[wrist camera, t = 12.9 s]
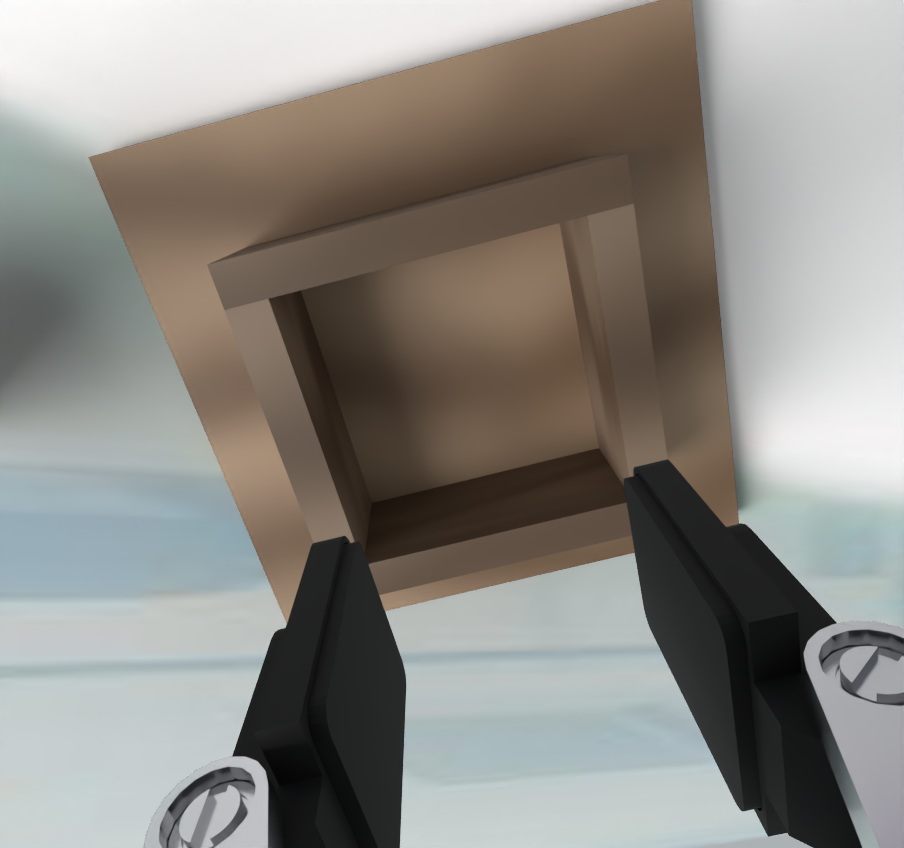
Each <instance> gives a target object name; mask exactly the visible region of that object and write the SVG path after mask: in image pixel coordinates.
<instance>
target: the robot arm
mask: <svg viewBox="0 0 904 848" xmlns="http://www.w3.org/2000/svg"><path fill="white" fill-rule="evenodd" d="M624 490H625V496H626V502H627V508H628V514H629V520H630V526H631V532H632V538H633V544H634V550H635V556H636V562H637V569H638V575H639V581H640V587H641V593H642V599H643V605H644V610H645V614H646V618H647V621H648V624H649V626H650V629H651V631H652V633H653V635H654V637H655V639H656V641H657V643H658V645H659V647H660V650H661V652H662V654H663V656H664V658H665V660H666V662H667V664H668V666H669V668H670V670H671V672H672V674H673V676H674V678H675V680H676V682H677V684H678V686H679V688H680V690H681V692H682V694H683V696H684V698H685V700H686V702H687V704H688V706H689V709H690V711H691V713H692V715H693V717H694V719H695V721H696V723H697V725H698V727H699V729H700V731H701V733H702V735H703V737H704V739H705V741H706V743H707V745H708V747H709V749H710V751H711V753H712V755H713V757H714V759H715V761H716V763H717V765H718V767H719V770H720V772H721V774H722V776H723V778H724V780H725V782H726V784H727V786H728V788H729V790H730V792H731V794H732V796H733V798H734V800H735V802H736V804H737V806H738V807H739V808H740V810H741V811H747V810H752V809H754V810H755V812H756V814H757V816H758V818H759V820H760V822H761V823H762V825H763V827H764V829H765V831H766V833H767V835H768V836H773V835H778V834H783V833H788V834H789V836H791V837H793V838H795V839H797V840H799V841H801V842H803V843H805V844H807V845H809V846H811V847H813V848H904V629H903V628H901V627H898V626H894V625H889V624H885V623H880V622H875V621H849V622H842V623H836V622H835V621H834V620H833V618H832V617H831V616H830V615H829V614H828V613H827V612H826V611H825V610H824V609H823V607H822V606H821V605H820V604H819V603H818V602H817V601H816V600H815V599H814V598H813V597H812V595H811V594H810V593H809V592H808V591H807V590H806V589H805V588H804V587H803V586H802V584H801V583H800V582H799V581H798V580H797V579H796V578H795V577H794V576H793V575H792V574H791V572H790V571H789V570H788V569H787V568H786V567H785V566H784V565H783V564H782V563H781V561H780V560H779V559H778V558H777V557H776V556H775V555H774V554H773V553H772V552H771V551H770V549H769V548H768V547H767V546H766V545H765V544H764V543H763V542H762V541H761V540H760V538H759V537H758V536H757V535H756V534H755V533H754V532H753V531H752V530H751V529H750V528H749V527H748V526H747V525H745V524H736V525H732V526H728V527H726V526H725V525H724V524H723V523H722V522H721V520H720V519H719V518H718V517H717V516H716V515H715V513H714V512H713V511H712V510H711V509H710V507H709V506H708V505H707V504H706V503H705V502H704V500H703V499H702V498H701V497H700V496H699V495H698V493H697V492H696V491H695V490H694V489H693V487H692V486H691V485H690V484H689V483H688V482H687V480H686V479H685V478H684V477H683V476H682V474H681V473H680V472H679V471H678V470H677V469H676V467H675V466H674V465H673V464H672V463H671V462H670V461H669V460H668V459H667V460H662V461H658V462H654V463H650V464H646V465H641V466H637V467H634V469H633V476H632V477H628V478H624ZM405 701H406V676H405V670H404V666H403V662H402V659H401V656H400V653H399V651H398V648H397V645H396V642H395V639H394V636H393V633H392V630H391V628H390V625H389V622H388V619H387V616H386V613H385V610H384V607H383V605H382V602H381V599H380V596H379V593H378V590H377V587H376V585H375V582H374V579H373V576H372V573H371V570H370V567H369V564H368V562H367V559H366V556H365V553H364V550H363V548H362V545H361V544H360V542H359V541H357V542H353V543H350V541H349V540H348V538H347V537H346V536H341V537H337V538H333V539H329V540H324V541H320V542H316V543H313V544H312V546H311V548H310V551H309V555H308V558H307V561H306V564H305V567H304V571H303V574H302V577H301V580H300V584H299V587H298V590H297V593H296V596H295V600H294V603H293V606H292V609H291V613H290V616H289V619H288V622H287V626H286V628H284V629H280V630H278V631H276V632H275V633H274V635H273V637H272V639H271V642H270V645H269V648H268V651H267V654H266V657H265V660H264V663H263V666H262V669H261V672H260V675H259V678H258V681H257V684H256V687H255V690H254V693H253V696H252V699H251V702H250V705H249V708H248V711H247V714H246V717H245V720H244V723H243V726H242V729H241V732H240V735H239V738H238V741H237V744H236V747H235V750H234V753H233V756H232V757H227V758H223V759H220V760H216V761H213V762H211V763H209V764H207V765H205V766H203V767H201V768H199V769H197V770H195V771H194V772H193V773H191V774H190V775H189V776H187V777H186V778H185V779H184V780H182V781H181V782H180V783H178V784H177V785H176V787H175V788H174V789H173V790H172V791H171V792H170V793H169V794H168V795H167V796H166V797H165V798H164V799H163V801H162V802H161V804H160V806H159V807H158V809H157V810H156V812H155V813H154V815H153V817H152V819H151V822H150V825H149V827H148V830H147V833H146V837H145V842H144V846H143V848H400V827H401V802H402V777H403V751H404V726H405Z"/></svg>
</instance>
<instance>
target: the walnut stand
mask: <svg viewBox="0 0 904 848" xmlns="http://www.w3.org/2000/svg"><path fill="white" fill-rule="evenodd" d="M89 160H90V162H91V164H92V167H93V169H94V171H95V174H96V176H97V178H98V181H99V183H100V185H101V188H102V190H103V192H104V195H105V197H106V200H107V202H108V204H109V207H110V209H111V211H112V214H113V216H114V218H115V221H116V223H117V225H118V228H119V230H120V232H121V235H122V237H123V239H124V242H125V244H126V247H127V249H128V251H129V254H130V256H131V258H132V261H133V263H134V265H135V268H136V270H137V272H138V275H139V277H140V279H141V282H142V284H143V286H144V289H145V291H146V294H147V296H148V298H149V301H150V303H151V305H152V308H153V310H154V312H155V315H156V317H157V319H158V322H159V324H160V326H161V329H162V331H163V334H164V336H165V338H166V341H167V343H168V345H169V348H170V350H171V352H172V355H173V357H174V359H175V362H176V364H177V366H178V369H179V371H180V373H181V376H182V378H183V381H184V383H185V385H186V388H187V390H188V392H189V395H190V397H191V399H192V402H193V404H194V406H195V409H196V411H197V413H198V416H199V418H200V420H201V423H202V425H203V428H204V430H205V432H206V435H207V437H208V439H209V442H210V444H211V446H212V449H213V451H214V453H215V456H216V458H217V460H218V463H219V465H220V467H221V470H222V472H223V475H224V477H225V479H226V482H227V484H228V486H229V489H230V491H231V493H232V496H233V498H234V500H235V503H236V505H237V507H238V510H239V512H240V515H241V517H242V519H243V522H244V524H245V526H246V529H247V531H248V533H249V536H250V538H251V540H252V543H253V545H254V547H255V550H256V552H257V554H258V557H259V559H260V562H261V564H262V566H263V569H264V571H265V573H266V576H267V578H268V580H269V583H270V585H271V587H272V590H273V592H274V594H275V597H276V599H277V601H278V604H279V606H280V609H281V611H282V613H283V616H284V618H285V620H286V623H287V622H288V619H289V616H290V613H291V609H292V606H293V603H294V600H295V596H296V593H297V590H298V587H299V584H300V580H301V577H302V574H303V571H304V567H305V564H306V561H307V558H308V555H309V551H310V548H311V546H312V544H313V543H316V542H320V541H324V540H329V539H333V538H337V537H341V536H346V537H347V538H348V540H349V541H350V543H353V542H357V541H359V542H360V544H361V545H362V548H363V550H364V553H365V556H366V559H367V562H368V564H369V567H370V570H371V573H372V576H373V579H374V582H375V585H376V587H377V590H378V593H379V596H380V599H381V602H382V605H383V607H384V610H385V611H387V610H391V609H395V608H400V607H404V606H408V605H413V604H417V603H421V602H425V601H430V600H434V599H438V598H442V597H447V596H451V595H455V594H459V593H464V592H468V591H472V590H477V589H481V588H485V587H489V586H494V585H498V584H502V583H506V582H511V581H515V580H519V579H524V578H528V577H532V576H536V575H541V574H545V573H549V572H553V571H558V570H562V569H566V568H571V567H575V566H579V565H583V564H588V563H592V562H596V561H600V560H605V559H609V558H613V557H617V556H622V555H626V554H630V553H635V550H634V544H633V538H632V532H631V526H630V520H629V514H628V508H627V502H626V496H625V490H624V478H628V477H632V476H633V469H634V467H637V466H641V465H646V464H650V463H654V462H658V461H662V460H667V459H668V460H669V461H670V462H671V463H672V464H673V465H674V466H675V467H676V469H677V470H678V471H679V472H680V473H681V474H682V476H683V477H684V478H685V479H686V480H687V482H688V483H689V484H690V485H691V486H692V487H693V489H694V490H695V491H696V492H697V493H698V495H699V496H700V497H701V498H702V499H703V500H704V502H705V503H706V504H707V505H708V506H709V507H710V509H711V510H712V511H713V512H714V513H715V515H716V516H717V517H718V518H719V519H720V520H721V522H722V523H723V524H724V525H725V526H726V527H728V526H732V525H736V524H739V519H738V508H737V497H736V486H735V475H734V464H733V452H732V441H731V430H730V419H729V408H728V397H727V386H726V375H725V364H724V353H723V342H722V331H721V320H720V309H719V297H718V286H717V275H716V264H715V253H714V242H713V231H712V220H711V209H710V198H709V187H708V176H707V165H706V154H705V143H704V131H703V120H702V109H701V98H700V87H699V76H698V65H697V54H696V43H695V32H694V21H693V10H692V0H660V1H656V2H652V3H649V4H645V5H642V6H638V7H634V8H631V9H627V10H623V11H620V12H616V13H612V14H609V15H605V16H601V17H598V18H594V19H591V20H587V21H583V22H580V23H576V24H572V25H569V26H565V27H561V28H558V29H554V30H550V31H547V32H543V33H540V34H536V35H532V36H529V37H525V38H521V39H518V40H514V41H510V42H507V43H503V44H499V45H496V46H492V47H489V48H485V49H481V50H478V51H474V52H470V53H467V54H463V55H459V56H456V57H452V58H448V59H445V60H441V61H438V62H434V63H430V64H427V65H423V66H419V67H416V68H412V69H408V70H405V71H401V72H397V73H394V74H390V75H387V76H383V77H379V78H376V79H372V80H368V81H365V82H361V83H357V84H354V85H350V86H346V87H343V88H339V89H336V90H332V91H328V92H325V93H321V94H317V95H314V96H310V97H306V98H303V99H299V100H295V101H292V102H288V103H285V104H281V105H277V106H274V107H270V108H266V109H263V110H259V111H255V112H252V113H248V114H244V115H241V116H237V117H234V118H230V119H226V120H223V121H219V122H215V123H212V124H208V125H204V126H201V127H197V128H193V129H190V130H186V131H183V132H179V133H175V134H172V135H168V136H164V137H161V138H157V139H153V140H150V141H146V142H142V143H139V144H135V145H132V146H128V147H124V148H121V149H117V150H113V151H110V152H106V153H102V154H99V155H95V156H91V157H89Z"/></svg>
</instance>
